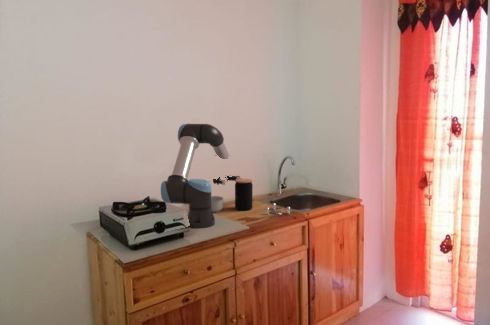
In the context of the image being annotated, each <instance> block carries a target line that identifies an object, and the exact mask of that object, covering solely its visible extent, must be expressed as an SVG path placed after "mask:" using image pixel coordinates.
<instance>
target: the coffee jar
mask: <svg viewBox="0 0 490 325" xmlns="http://www.w3.org/2000/svg"><path fill="white" fill-rule="evenodd" d="M234 182H235V184H234V208H235V210H237V211H239V212H240V211H241V212H247V211H252V209H253V187H254V186H253V183H252V182H253V179H251V178H244V179H236V180H235V181H234Z"/></svg>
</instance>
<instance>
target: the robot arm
mask: <svg viewBox="0 0 490 325" xmlns="http://www.w3.org/2000/svg"><path fill="white" fill-rule="evenodd" d="M224 139H225V138H224V134H223V133H222V132H221V131H220V129H218V128H217V127H216V126H213V125H212V124H208V123H184V124H181V125H180V126H179V127H178V131H177V140H178V143H179V145H180V147H179V150H178V153H177V157H176V159H175V164H174V166H173V170H172V173H171V174H170V175H168V177H167V180H164V181H162V182H161V184H160V195H161V196H160V197H161V199H162V202H164V203H165V204H171V205H172V204H175V205H176V204H178V205H179V204H181V205H182V204H183V205H188V209H189V210H188V213H187V215H186V217H187V216H188V219H189V223H190V226H191V227H190V228H195V229H196V228H197V229H202V228H203V229H204V228H208V227H212V226H214V225H215V224H216V222H215V221H216V220H215V217H214V216H215V215H214V212H212V210H211V196H212V184H211V181H206V180H204V179H202V178H201V179H199V178H191V179H189V180H188V177H189V173H190V171H191V166H192V162H193V159H194V155H195V151H196V149H198V148H199V147H200V144H208V145H210V146H211V147H212V148H213V151H214V152H215V155H216V154H217V155H218V156H219V157H220V158H222V159H228V157H229V156H230V154H229V152H228V150H227V147H226V145H225V140H224ZM217 155H216V156H217ZM226 176H227V175H226ZM229 176H230V175H229ZM229 176H227V178H228V179H227V178H226V177H225V178H226V180H227V181H225V180H221V179H220V177H219V178H218V179H217V180H216V179H213V182H212V183H213V184H214V185H217V186H219V185H223V186H227V182H228V180H229V182H230V181H233V182H235V180H236V179H245V177H244V178H243V177H241V176H239V175H237V176H236V175H231V176H232V177H229Z"/></svg>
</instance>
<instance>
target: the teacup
mask: <svg viewBox="0 0 490 325" xmlns="http://www.w3.org/2000/svg"><path fill="white" fill-rule="evenodd" d="M223 208H224V197H222V196H219V195H218V196H217V195H211V210H212V213H218V212H221V210H222V209H223Z"/></svg>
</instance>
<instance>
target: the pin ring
mask: <svg viewBox="0 0 490 325" xmlns="http://www.w3.org/2000/svg"><path fill="white" fill-rule="evenodd" d="M276 204H277V203H275V202H273V203H272V210H271V211H270V207H267V206H266V208H265V215H266V216H268V215H270V214H271V215H283V214H282V213H281V211H282V210H276V208H277V207H276ZM286 208H287V209H286V215H290V214H291V206H287V207H286Z"/></svg>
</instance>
